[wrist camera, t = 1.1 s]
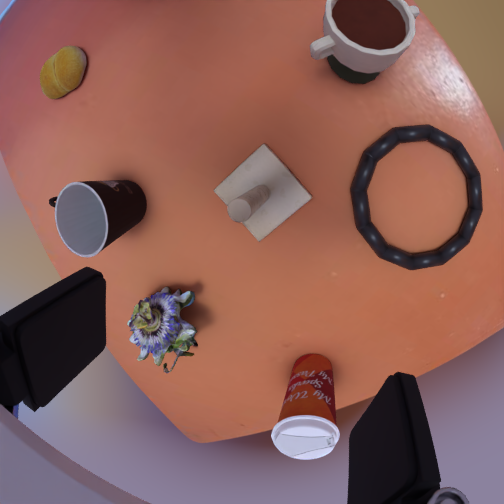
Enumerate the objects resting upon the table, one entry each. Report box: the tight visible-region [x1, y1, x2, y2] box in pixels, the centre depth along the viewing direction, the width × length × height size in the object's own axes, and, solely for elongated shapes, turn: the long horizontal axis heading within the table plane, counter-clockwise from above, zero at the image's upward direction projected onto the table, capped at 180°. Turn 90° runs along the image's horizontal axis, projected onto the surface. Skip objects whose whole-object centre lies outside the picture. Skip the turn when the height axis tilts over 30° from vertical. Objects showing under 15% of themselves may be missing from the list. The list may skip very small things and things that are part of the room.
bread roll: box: [40, 46, 87, 99], centre depth 33 cm, size 8×9×4 cm
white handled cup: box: [310, 0, 419, 84], centre depth 22 cm, size 11×7×13 cm, turn 119°
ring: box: [351, 125, 483, 270], centre depth 31 cm, size 17×17×2 cm
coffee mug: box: [49, 180, 146, 257], centre depth 35 cm, size 12×9×10 cm
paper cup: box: [271, 354, 340, 460], centre depth 35 cm, size 8×8×14 cm
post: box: [214, 144, 312, 242], centre depth 30 cm, size 8×8×11 cm
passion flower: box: [127, 287, 198, 373], centre depth 40 cm, size 11×11×12 cm
